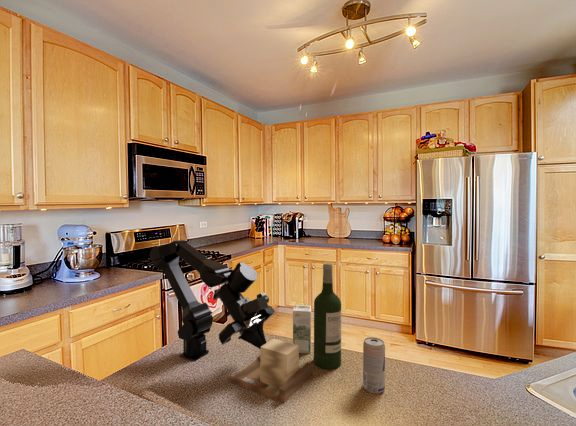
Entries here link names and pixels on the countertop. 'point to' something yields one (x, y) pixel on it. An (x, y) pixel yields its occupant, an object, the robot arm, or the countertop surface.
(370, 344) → the energy drink
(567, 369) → the countertop surface
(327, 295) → the wine bottle
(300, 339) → the syrup box
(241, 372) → the tray
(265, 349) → the maple block
